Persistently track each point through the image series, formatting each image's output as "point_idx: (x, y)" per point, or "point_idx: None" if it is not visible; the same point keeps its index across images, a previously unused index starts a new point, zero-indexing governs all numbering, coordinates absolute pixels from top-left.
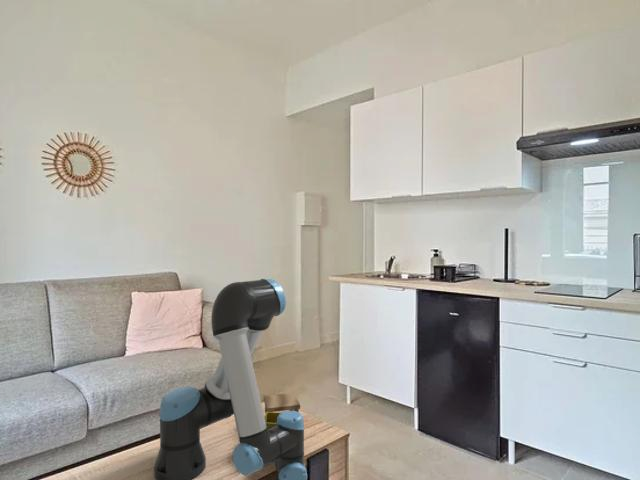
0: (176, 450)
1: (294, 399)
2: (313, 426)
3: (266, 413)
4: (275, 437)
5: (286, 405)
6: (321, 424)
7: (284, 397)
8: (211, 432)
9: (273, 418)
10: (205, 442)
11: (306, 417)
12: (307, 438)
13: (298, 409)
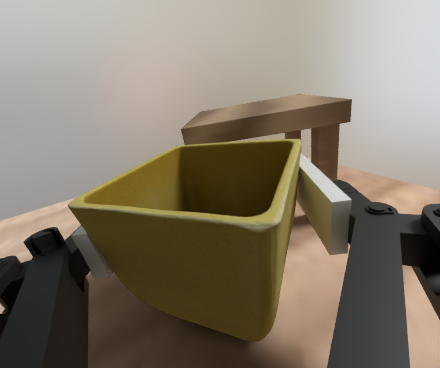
0: None
1: (309, 98)
2: (391, 198)
3: (170, 150)
4: None
5: (275, 111)
6: (423, 189)
7: (266, 102)
8: (71, 216)
9: (211, 173)
10: (10, 254)
11: (341, 169)
12: (410, 270)
13: (338, 128)
